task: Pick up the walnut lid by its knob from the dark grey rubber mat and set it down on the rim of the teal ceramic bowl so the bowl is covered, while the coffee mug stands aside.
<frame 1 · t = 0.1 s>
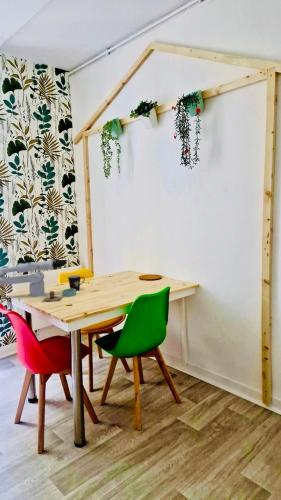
hand: (65, 263, 227), 22 cm above the table, tool horizontal, fingers open, 7 cm apart
mat: (52, 300, 215), on the table
bowl: (69, 295, 226), on the table
lid: (52, 299, 215), resting on mat
coffee mug: (77, 290, 241), on the table
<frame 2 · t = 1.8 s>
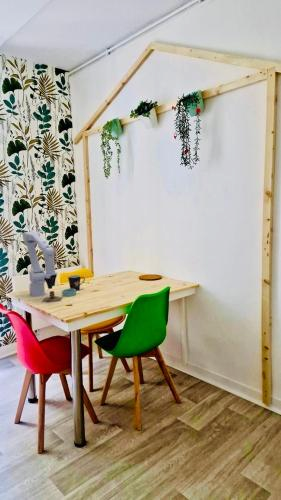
hand: (51, 287, 214), 9 cm above the table, tool pointing down, fingers open, 7 cm apart
nothing on the table moved.
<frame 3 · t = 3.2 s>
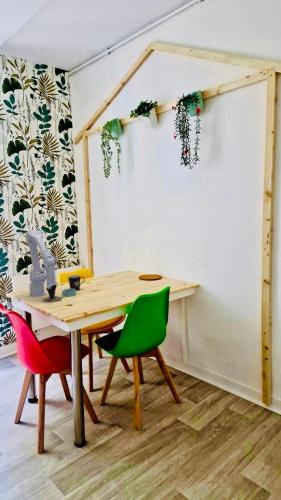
hand: (52, 297, 215), 2 cm above the table, tool pointing down, fingers closed on lid, 3 cm apart
lid: (52, 299, 215), resting on mat, touching gripper
everything else where it was.
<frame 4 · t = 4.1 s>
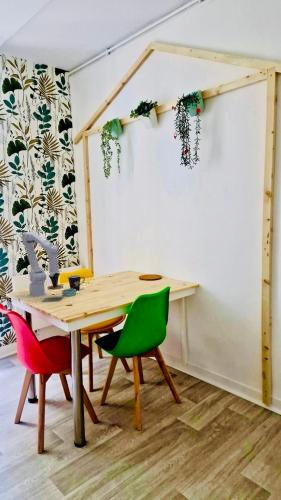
hand: (55, 285, 216), 9 cm above the table, tool pointing down, fingers closed on lid, 3 cm apart
lid: (55, 287, 217), point 8 cm above the table, touching gripper
everything else where it was.
when the fingers open (6 cm above the table, at t = 5.5 s): lid stays where it is, resting on bowl.
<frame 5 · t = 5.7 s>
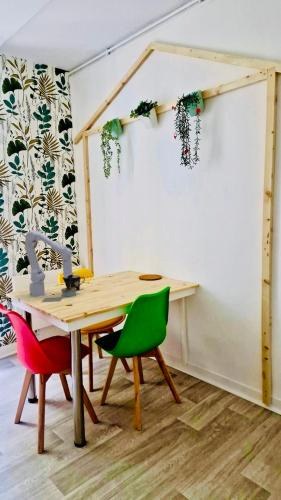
hand: (68, 286, 225), 6 cm above the table, tool pointing down, fingers open, 5 cm apart
lid: (68, 290, 225), point 4 cm above the table, touching bowl
everything else where it was.
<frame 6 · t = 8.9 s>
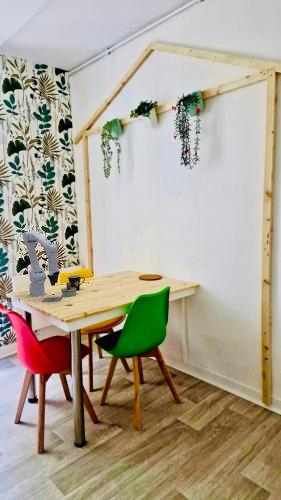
hand: (54, 284, 214), 10 cm above the table, tool pointing down, fingers open, 7 cm apart
nothing on the table moved.
at the end: lid 0.0 cm off-centre on the bowl, point 3.6 cm above the bowl's base; lid tilted 0°; the gripper is holding nothing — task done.
